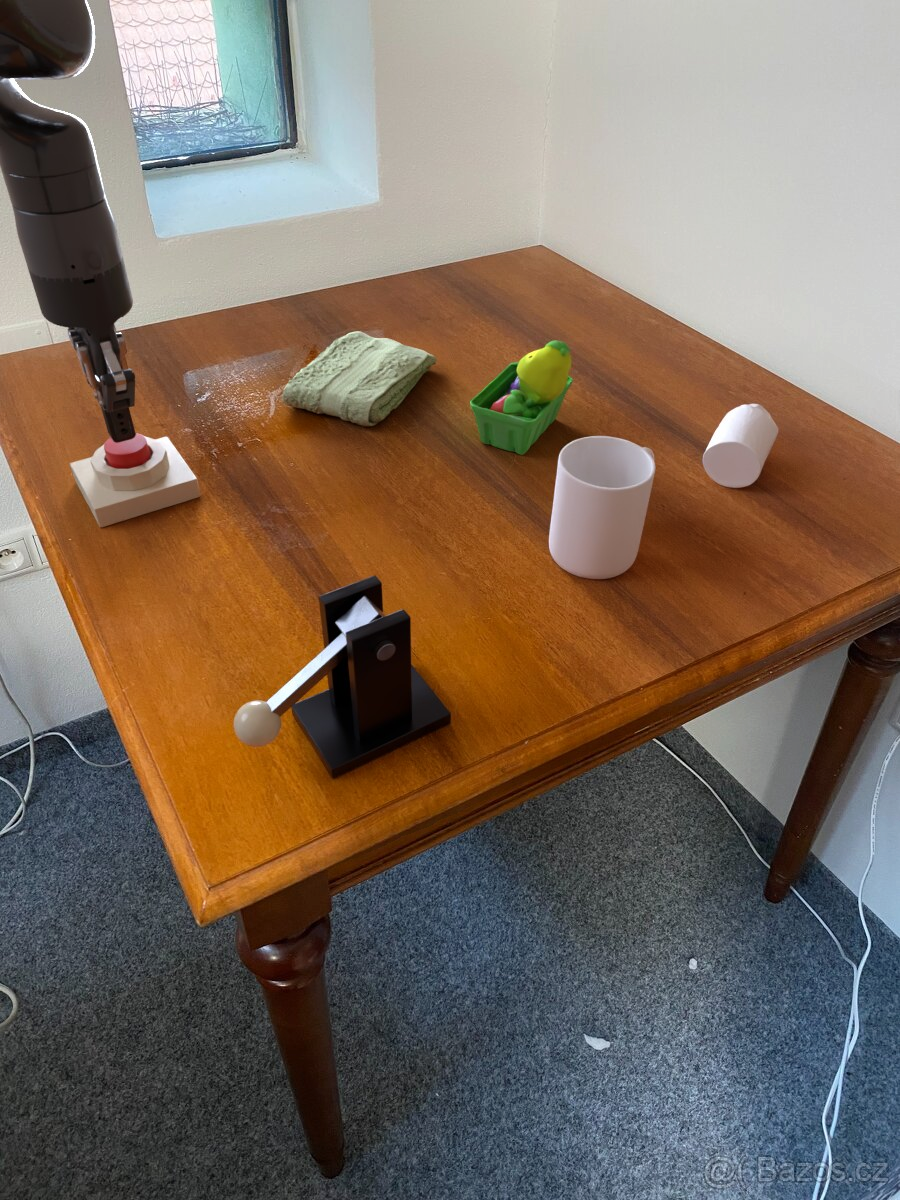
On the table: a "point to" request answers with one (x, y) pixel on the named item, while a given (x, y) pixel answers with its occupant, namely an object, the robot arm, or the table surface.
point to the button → (127, 452)
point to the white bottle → (740, 446)
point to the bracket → (368, 688)
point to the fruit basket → (523, 398)
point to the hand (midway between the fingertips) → (123, 437)
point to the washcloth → (358, 378)
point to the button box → (135, 483)
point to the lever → (300, 681)
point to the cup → (600, 505)
